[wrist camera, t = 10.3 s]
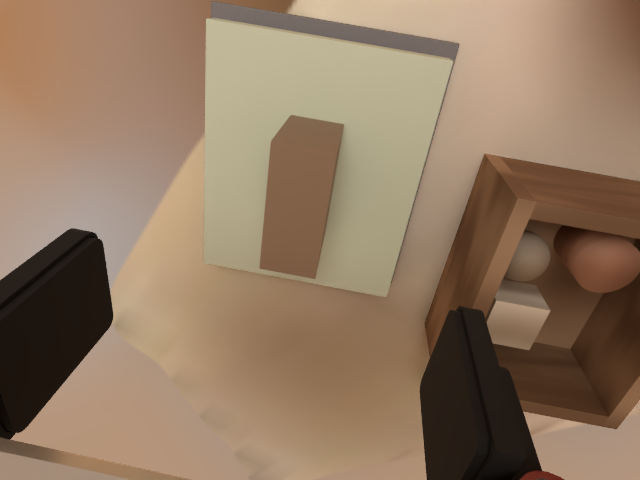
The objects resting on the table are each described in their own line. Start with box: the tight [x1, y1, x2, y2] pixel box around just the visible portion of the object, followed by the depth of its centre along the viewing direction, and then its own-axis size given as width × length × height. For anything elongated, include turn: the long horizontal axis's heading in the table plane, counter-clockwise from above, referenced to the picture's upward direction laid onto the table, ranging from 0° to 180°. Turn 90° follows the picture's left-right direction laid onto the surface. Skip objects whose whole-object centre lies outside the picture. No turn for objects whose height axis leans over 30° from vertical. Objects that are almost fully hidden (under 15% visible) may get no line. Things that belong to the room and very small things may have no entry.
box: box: [425, 154, 640, 429], centre depth 23 cm, size 12×10×6 cm
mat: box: [211, 1, 459, 283], centre depth 24 cm, size 14×12×1 cm
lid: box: [204, 18, 453, 297], centre depth 21 cm, size 13×11×7 cm
